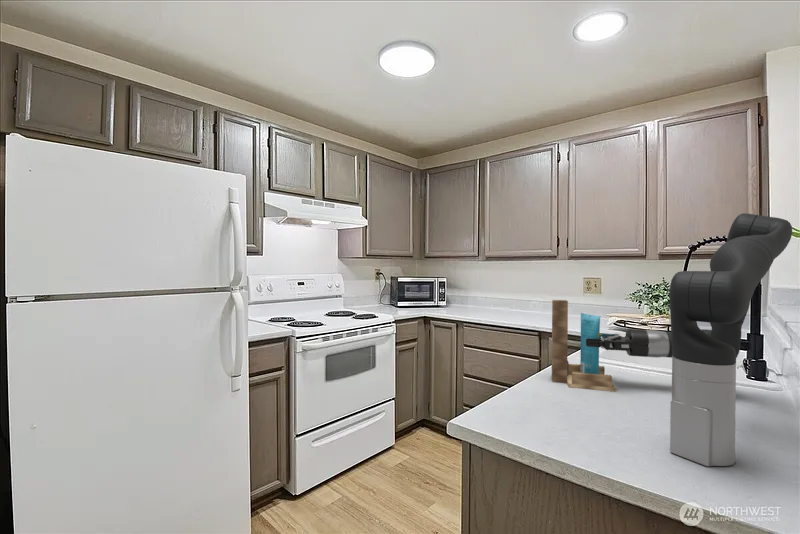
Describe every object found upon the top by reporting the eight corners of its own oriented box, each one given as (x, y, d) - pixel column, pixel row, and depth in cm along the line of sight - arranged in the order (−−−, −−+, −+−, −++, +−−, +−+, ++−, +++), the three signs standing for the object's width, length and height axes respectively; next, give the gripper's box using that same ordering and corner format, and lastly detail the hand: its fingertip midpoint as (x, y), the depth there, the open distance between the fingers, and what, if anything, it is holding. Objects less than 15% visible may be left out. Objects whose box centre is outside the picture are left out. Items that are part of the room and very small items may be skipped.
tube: (606, 382, 114) (606, 315, 114) (593, 384, 112) (594, 316, 112) (584, 376, 121) (585, 312, 121) (572, 377, 119) (573, 313, 119)
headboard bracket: (607, 379, 121) (607, 300, 121) (615, 391, 109) (616, 303, 109) (550, 375, 125) (551, 298, 125) (553, 385, 114) (554, 301, 114)
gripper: (639, 326, 119) (580, 323, 124) (654, 334, 105) (587, 330, 110) (639, 351, 119) (580, 347, 124) (654, 362, 105) (587, 357, 110)
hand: (583, 339), depth 117 cm, fingers open, 8 cm apart
